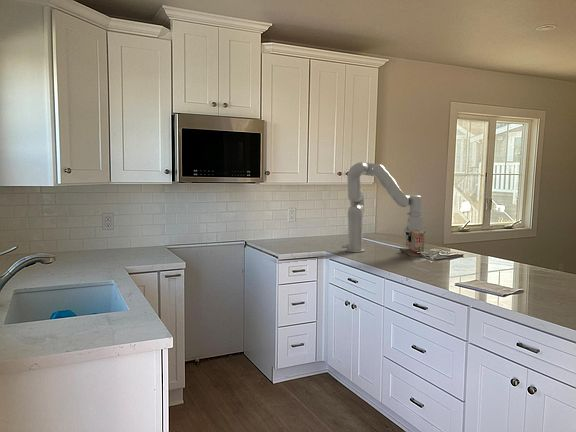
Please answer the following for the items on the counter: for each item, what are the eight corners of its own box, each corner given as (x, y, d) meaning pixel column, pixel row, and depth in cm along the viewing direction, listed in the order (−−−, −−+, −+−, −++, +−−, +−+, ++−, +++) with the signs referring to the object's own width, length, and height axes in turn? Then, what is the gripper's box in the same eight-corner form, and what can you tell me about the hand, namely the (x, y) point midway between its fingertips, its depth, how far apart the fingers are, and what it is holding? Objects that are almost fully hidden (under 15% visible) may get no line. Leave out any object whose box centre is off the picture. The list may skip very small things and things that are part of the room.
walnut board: (412, 257, 290) (412, 255, 290) (400, 249, 317) (400, 247, 317) (431, 256, 291) (431, 254, 291) (417, 249, 317) (417, 247, 317)
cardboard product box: (405, 246, 315) (405, 228, 314) (414, 245, 315) (414, 228, 314) (414, 251, 294) (414, 232, 293) (424, 251, 294) (424, 232, 293)
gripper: (403, 215, 297) (403, 243, 299) (430, 214, 298) (430, 242, 300) (400, 214, 305) (400, 241, 307) (426, 213, 305) (426, 240, 307)
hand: (415, 241), depth 303 cm, fingers closed on cardboard product box, 6 cm apart
